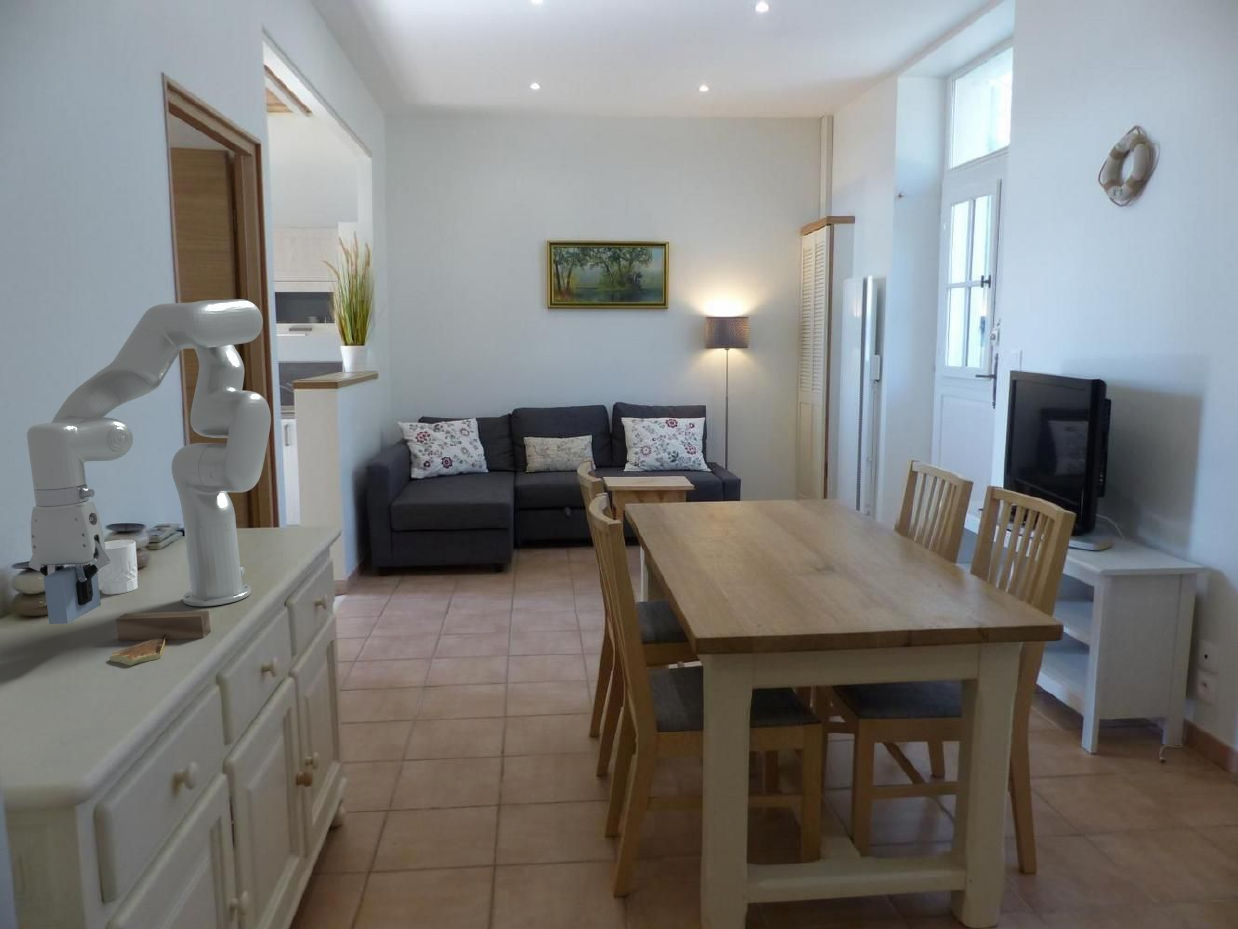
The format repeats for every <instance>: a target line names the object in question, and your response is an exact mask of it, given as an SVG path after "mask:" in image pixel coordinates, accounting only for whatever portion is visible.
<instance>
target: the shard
mask: <svg viewBox="0 0 1238 929" xmlns="http://www.w3.org/2000/svg"><path fill="white" fill-rule="evenodd" d="M166 636H167V635H166V634H165V635H163V636H160V637H157V638H155V639H152V640H145V641H143V642H140V643H138V644H133V645H131V646H129V647H126V648H124V649H121V650H119V651H116V652H114V653H112V654H111V655H110V656H109V660H110V662H115V663H120V664H124V665H128V666H134V665H136V664H140V663H144V662H149V661H154V660H160V659H161V657H162V652H163V650H164V648H165V646H166V639H165V637H166Z"/></svg>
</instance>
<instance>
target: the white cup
mask: <svg viewBox="0 0 1238 929" xmlns="http://www.w3.org/2000/svg"><path fill="white" fill-rule="evenodd" d="M105 549H106V555H107V556H108V558H109V559H110V563H109V564H107V565H106V566H104V567H102V568H101V569H99V570H98V571H97V576H98V581H99V583H100V587H101V588H100V589H101V593H102V594H104V595H119V594H120V595H121V594H125V593H129V592H133V591H135V590H137V589H138V588H139V587H138V586H139V584H138V583H139V582H138V574H139V573H138V560H137V559H138V558H137V557H138V556H137V544H136V540H133V539H117V540H110V541H109V540H108V541H105ZM94 561H97V560H96V558H94Z"/></svg>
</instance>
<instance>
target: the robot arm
mask: <svg viewBox="0 0 1238 929" xmlns="http://www.w3.org/2000/svg"><path fill="white" fill-rule="evenodd" d="M263 324H264V319H263V315H262V312H261V311H260V309H259V307H258V306H257V305H256V304H254V303H253V302H252V301H250V300H247V299H242V298H239V299H238V298H237V299H209V300H198V301H194V302H193V301H192V302H176V303H175V302H173V303H160V304H155V305H153V306H152V307H150V308H148V309H147V310H146V311H145V312H144V314H143V315H142V316H141V318H140V319H139V321H138V323H137V324H136V325H135V326H134V328H133V330H132V332H131V333H130V334H129V336H128V337H127V339H126V341H125V342H124V343H123V345H122V347H121V349H120V350H119V351H118V353H117V355H115V357H114V359H113V360H112V361H111V362H110V363H109V364H108V365H107V366H105V367H104V368H102V369H101V370H99V371H98V372H97V373H95V374H94V375H93V376H91V377H90V378H89V379H87V380H86V381H84V382H83V383H82V384H80V385H79V386H78V387H77V388H76V389H75V390H74V391H72V392H71V393H70V394H69V396H67V398H66V399H65V400H64V402H63V403H62V405H61V406H60V408H59V409H58V411H57V412H56V414H55V416H54V417H53V418H52V420H51V422H47V423H39V424H35V425H32V426H30V427H29V428H28V430H27V432H26V438H27V440H26V441H27V446H28V447H27V448H28V453H29V454H28V455H29V463H30V469H31V470H30V471H31V477H32V483H33V494H34V500H35V501H34V502H35V506H33V507H32V509H31V517H30V518H31V519H30V543H31V553H32V555H31V558H30V561H29V563H28V567H29V568H30V569H33V570H35V571H37V572H40V574H42V575H43V577H45V576H47V575H49V574H51V573H54V572H56V571H58V570H60V569H63V568H65V566H66V565H67V566H69V565H72V564H75V566H76V571H77V575H78V580H79V582H77V583H76V589H77V597H78V604H79V605H84V604H86V603H88V602H90V601H92V597H93V589H92V580H91V578H93V577H94V575H95V574H96V573H97V574H98V572H97V571H98V570H99V569H101V568H102V567H104V566H106V565H107V564H109V563H110V559H109V558H108V556H107V555H106V549H105V542H106V541H105V536H104V533H103V526H102V522H101V519H100V515H99V513H98V511H97V507H96V505H95V503H94V502H93V501H89V500H90V498H94V496H95V489H93V488H92V489H91V488H88V484H87V478H86V471H85V469H86V468H85V463H87V462H107V461H108V462H109V461H115V460H118V459H119V458H120V459H121V458H122V457H123V456H125V455H126V454H127V453H128V452H129V451H130V450H131V448H132V445H133V443H134V438H133V432H132V431H131V428H130V427H129V426H128V425H127V424H126V423H125V422H124V421H121V420H119V419H116V418H114V417H113V418H112V417H106V416H107V415H108V414H109V413H110V412H112V411H113V410H114V409H117V408H118V407H120V406H122V405H124V404H127V403H129V402H131V401H134V400H136V399H139V398H142V397H144V396H145V395H148V394H150V393H152V392H154V391H155V390H157V389H158V388H159V386H161V384H162V383H163V380H164V379H165V377H166V375H167V374H168V372H169V370H170V368H172V365H173V364H174V362H175V360H176V358H178V355H179V354H180V352H181V351H182V350H185V349H186V350H187V349H188V350H189V349H190V350H191V349H194V351H195V354H196V357H197V359H198V373H197V374H198V375H197V380H196V385H195V390H194V394H193V395H194V396H193V399H192V405H191V409H190V410H191V411H190V420H189V422H190V423H189V424H190V426H191V429H192V430H193V432H195V433H196V434H198V435H199V436H202V437H206V438H215V439H227V441H226V443H219V442H218V443H217V442H216V443H215V442H195V443H190V444H187V445H184V446H183V447H181V448H180V449H178V451H176V452H175V454H174V456H173V457H172V461H171V475H172V479H173V482H174V485H175V487H176V492H177V494H178V497H179V501H180V502H179V503H180V507H181V513H182V522H183V531H184V539H185V550H186V558H187V567H188V575H189V584H190V591H187V592H186V593H184V594H183V597H182V599H183V603H184V604H185V605H187V606H190V607H191V606H192V607H213V606H220V605H225V604H230V603H231V604H232V603H234V602H238V601H241V600H243V599H245V598H247V597H248V596H250V595H251V593H252V590H251V586H250V585H249V584H246V583H243V580H242V576H243V575H244V574H245V573H246V569H245V567H243V566H241V562H240V561H241V560H240V553H239V552H240V551H239V542H238V533H237V524H236V513H235V512H236V511H235V508H234V504H233V501H232V499H231V497H230V496H229V494H228V493H238V494H239V493H246V492H248V491H250V490H252V489H253V488H254V487H255V486H256V485H257V483H258V482H259V480H260V478H261V476H262V472H263V468H264V463H265V458H266V454H267V447H268V441H269V438H270V437H269V436H270V430H271V424H272V416H271V409H270V406H269V403H268V401H267V400H266V399H265V398H264V397H263V396H262V395H261V394H260V393H258V392H255V391H251V390H243V387H244V379H245V365H244V362H243V360H242V357H241V356H240V353H239V351H237V349H236V347H235V345H241V344H247V343H250V342H252V341H254V340H255V339H257V338H258V336H260V334H261V332H262V329H263V326H264V325H263ZM95 558H96V560H97V561H96V563H94V564H92V561H94V560H95Z"/></svg>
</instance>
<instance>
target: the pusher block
mask: <svg viewBox="0 0 1238 929" xmlns="http://www.w3.org/2000/svg"><path fill="white" fill-rule="evenodd" d="M94 563H96V561H95V560H92V564H94ZM91 580H92V589H93V597H92V601H90V602H88V603H86V604H84V605H79V604H78V597H77V589H76V583H77V582H79V580H78V575H77V571H76V566H75V564H70V565H67V566H64V568H63V569H60V570H58V571H56V572H54V573H51V574H49V575H47V576H43V584H44V591H45V600H46V608H47V616H48V622H49V623H48V624H49V625H58V624H59V625H60V624H63V625H64V624H65V625H67V624H70V623H71V622H73V621H75V620H76V619H77V620H78V618H80V617H82V616H84V615H86V614H87V613H89V612H91V611H93V610H95V609H96V608H98V607H100V606H101V604H102V603H101V594H100V587H99V586H100V585H99V577H98V572H97V573H96V574H95V575H94V577H93V578H91Z"/></svg>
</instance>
